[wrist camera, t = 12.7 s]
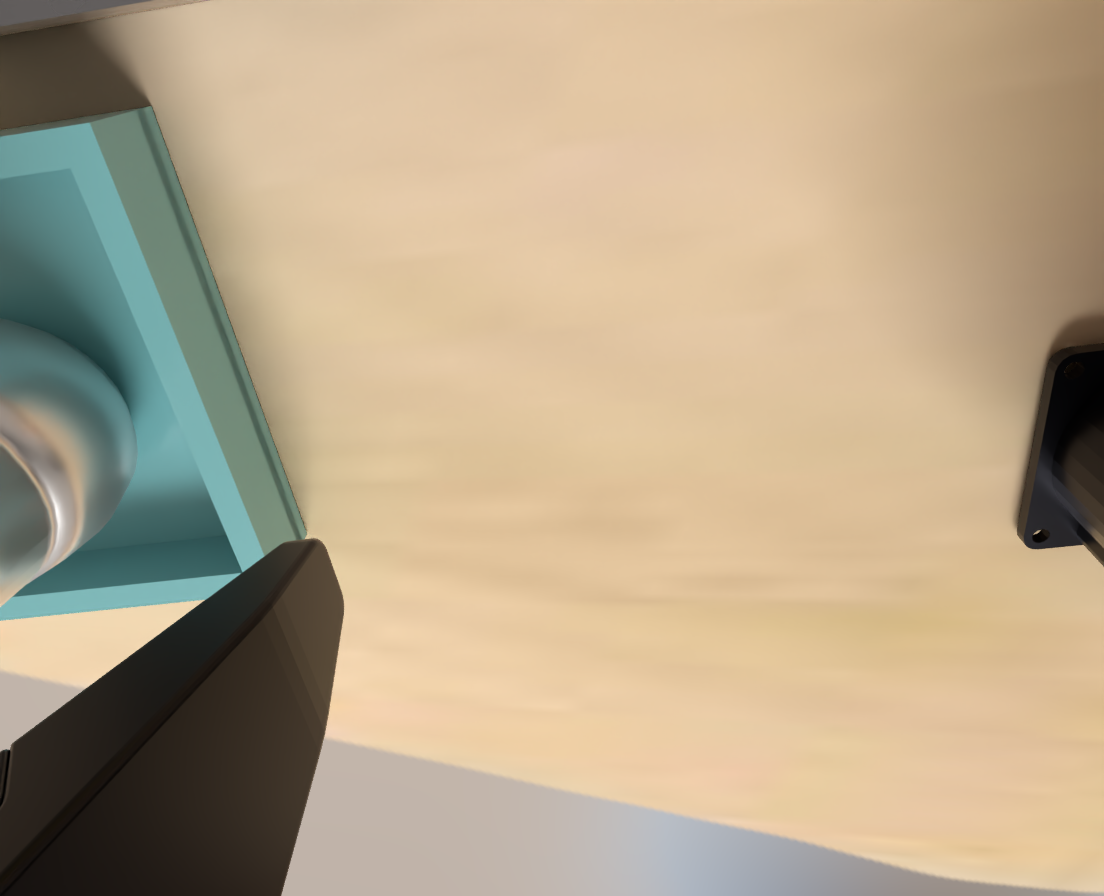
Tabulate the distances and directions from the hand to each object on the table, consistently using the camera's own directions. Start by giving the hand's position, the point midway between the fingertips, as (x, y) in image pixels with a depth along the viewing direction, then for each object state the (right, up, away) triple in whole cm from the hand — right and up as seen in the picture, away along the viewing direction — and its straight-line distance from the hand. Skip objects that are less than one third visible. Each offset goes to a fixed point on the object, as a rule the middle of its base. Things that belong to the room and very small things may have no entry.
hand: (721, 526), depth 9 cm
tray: (-17, +3, +14) cm, 22 cm away
